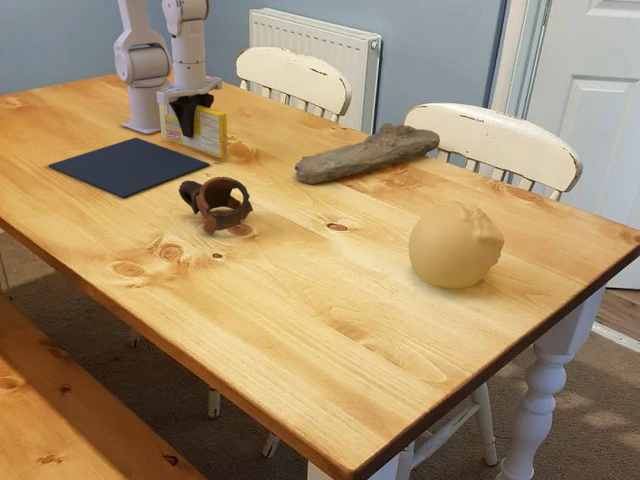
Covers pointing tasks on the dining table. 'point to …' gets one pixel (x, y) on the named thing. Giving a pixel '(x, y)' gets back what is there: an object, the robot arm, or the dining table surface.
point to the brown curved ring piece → (216, 202)
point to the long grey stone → (368, 154)
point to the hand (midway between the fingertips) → (192, 134)
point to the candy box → (197, 130)
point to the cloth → (129, 167)
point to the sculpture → (454, 245)
